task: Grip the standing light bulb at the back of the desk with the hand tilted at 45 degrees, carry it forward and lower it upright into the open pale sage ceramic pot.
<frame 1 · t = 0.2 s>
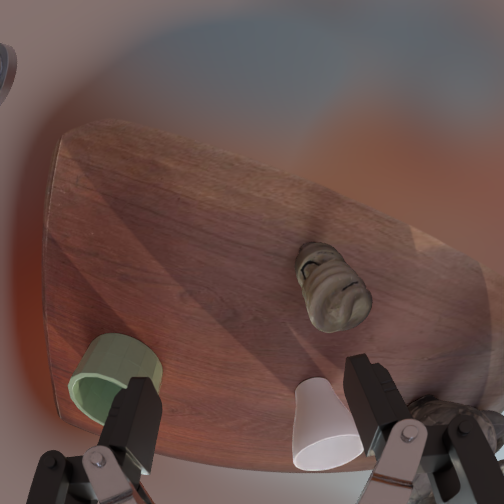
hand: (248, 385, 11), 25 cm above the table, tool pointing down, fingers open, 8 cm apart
light bulb: (306, 248, 36), on the table
cup: (312, 388, 45), on the table
bowl: (464, 421, 58), on the table
clay pot: (416, 407, 51), on the table
pot: (124, 364, 42), on the table
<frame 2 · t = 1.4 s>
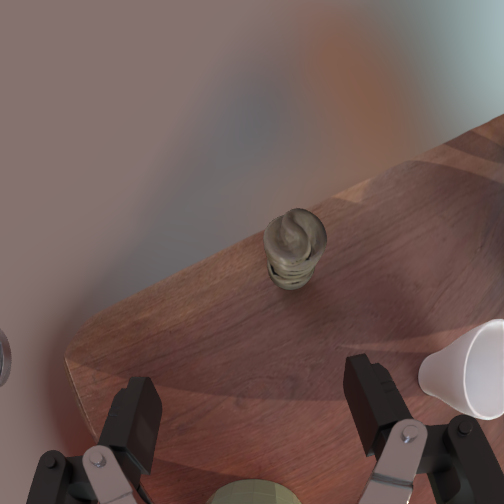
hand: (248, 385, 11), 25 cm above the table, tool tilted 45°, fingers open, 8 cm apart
light bulb: (285, 281, 38), on the table
cup: (434, 374, 32), on the table
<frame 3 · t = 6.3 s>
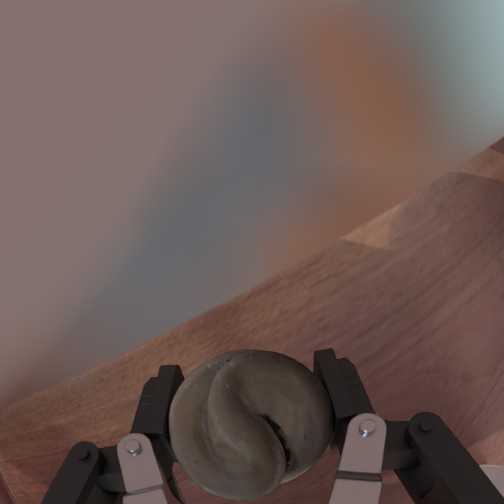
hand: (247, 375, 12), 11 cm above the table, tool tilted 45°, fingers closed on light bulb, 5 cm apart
light bulb: (259, 394, 21), on the table, touching gripper
cup: (470, 490, 15), on the table
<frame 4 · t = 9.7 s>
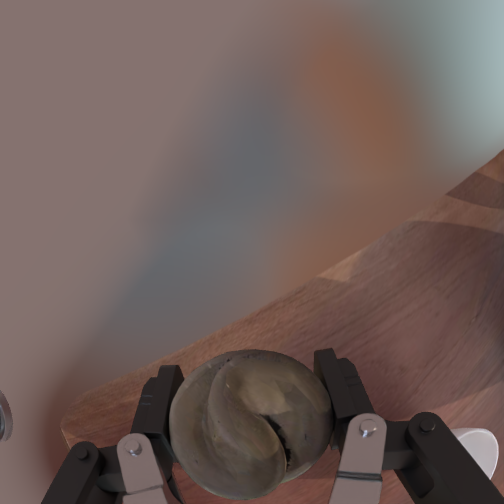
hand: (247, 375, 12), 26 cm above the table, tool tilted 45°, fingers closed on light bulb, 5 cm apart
light bulb: (259, 393, 21), point 15 cm above the table, touching gripper
cup: (412, 450, 30), on the table
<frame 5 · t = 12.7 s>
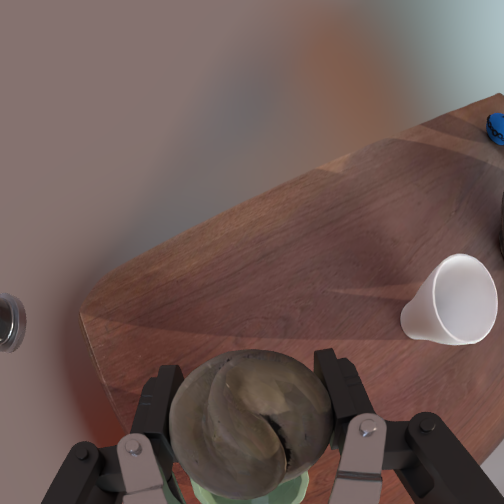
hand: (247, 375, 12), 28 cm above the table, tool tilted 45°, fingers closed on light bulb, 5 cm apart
light bulb: (259, 393, 21), point 17 cm above the table, touching gripper
cup: (416, 320, 39), on the table
pot: (252, 459, 33), on the table
ornament: (492, 139, 53), on the table
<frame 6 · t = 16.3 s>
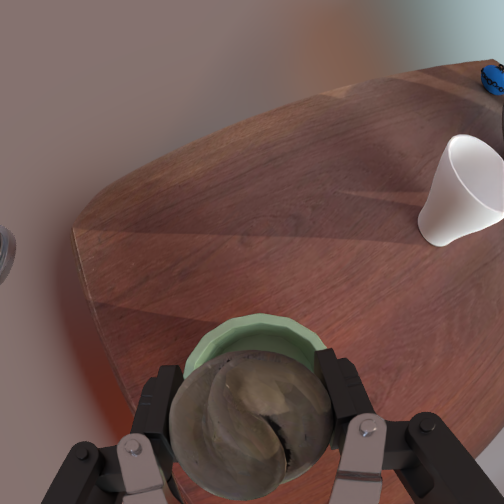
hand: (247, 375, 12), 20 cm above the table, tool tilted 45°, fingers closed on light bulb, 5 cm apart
light bulb: (259, 394, 21), point 9 cm above the table, touching gripper
cup: (434, 227, 36), on the table
pot: (262, 384, 30), on the table
ornament: (488, 91, 50), on the table
when the fingers open (11 cm above the table, at t = 19.3 s): light bulb stays where it is, resting on pot.
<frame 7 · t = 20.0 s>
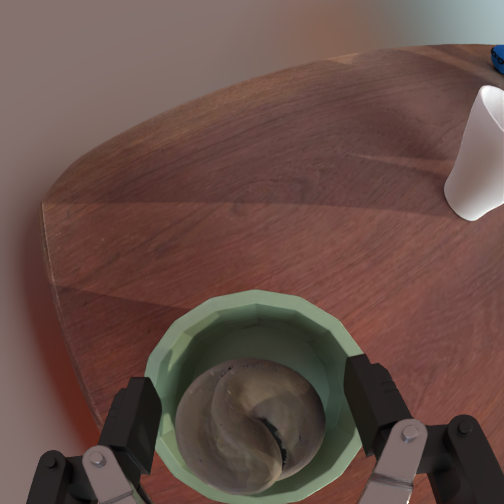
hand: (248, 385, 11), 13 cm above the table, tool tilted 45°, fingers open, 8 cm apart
light bulb: (259, 396, 22), resting on pot
cup: (462, 199, 28), on the table
pot: (259, 393, 22), on the table
ornament: (499, 71, 43), on the table
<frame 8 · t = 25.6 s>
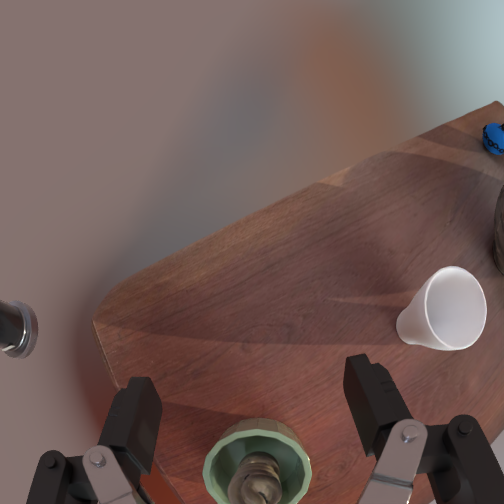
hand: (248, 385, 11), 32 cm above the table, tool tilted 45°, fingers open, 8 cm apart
light bulb: (258, 458, 35), resting on pot
cup: (411, 326, 42), on the table
clay pot: (503, 256, 45), on the table
pot: (258, 456, 35), on the table
ornament: (488, 148, 56), on the table
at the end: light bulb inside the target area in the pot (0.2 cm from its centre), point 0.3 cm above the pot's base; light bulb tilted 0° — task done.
